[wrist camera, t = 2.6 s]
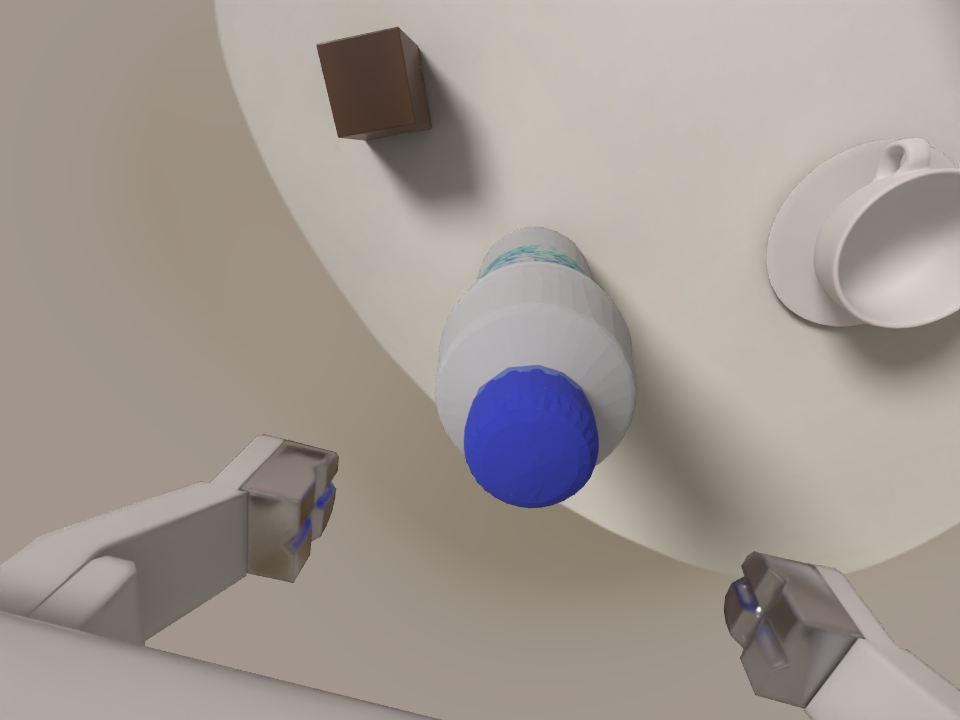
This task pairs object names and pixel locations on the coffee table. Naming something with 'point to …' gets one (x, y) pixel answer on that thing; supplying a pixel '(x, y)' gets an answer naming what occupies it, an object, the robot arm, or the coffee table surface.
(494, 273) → the bottle
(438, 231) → the coffee table surface
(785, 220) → the teacup
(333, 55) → the walnut block
